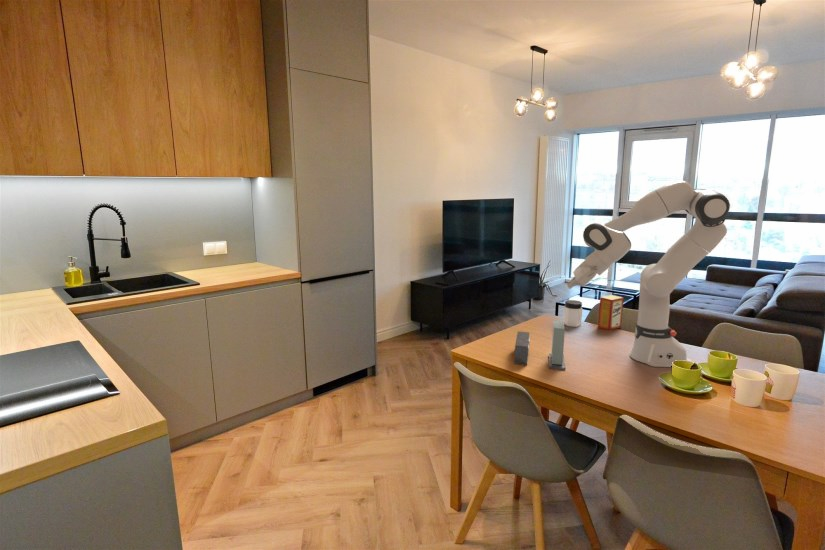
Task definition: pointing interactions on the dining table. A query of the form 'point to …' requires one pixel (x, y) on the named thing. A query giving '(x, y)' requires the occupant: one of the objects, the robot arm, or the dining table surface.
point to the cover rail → (556, 366)
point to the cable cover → (558, 342)
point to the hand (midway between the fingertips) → (568, 286)
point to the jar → (572, 313)
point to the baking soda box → (610, 312)
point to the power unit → (522, 348)
